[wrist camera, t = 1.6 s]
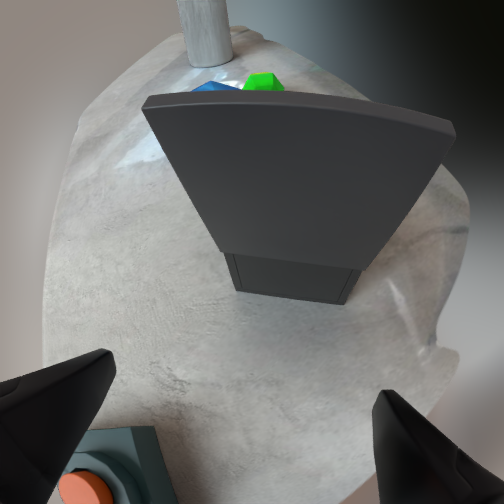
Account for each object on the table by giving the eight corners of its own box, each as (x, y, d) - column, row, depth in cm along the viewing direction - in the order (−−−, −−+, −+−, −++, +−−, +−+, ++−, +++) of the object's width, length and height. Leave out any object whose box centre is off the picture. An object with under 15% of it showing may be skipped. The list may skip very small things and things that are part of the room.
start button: (120, 516, 11) (108, 522, 9) (81, 512, 10) (67, 516, 9) (105, 471, 12) (90, 474, 11) (67, 469, 12) (52, 471, 11)
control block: (188, 528, 14) (163, 555, 9) (109, 525, 13) (72, 541, 8) (153, 425, 19) (117, 426, 14) (80, 432, 18) (37, 429, 13)
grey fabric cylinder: (241, 59, 53) (228, -47, 30) (199, 71, 51) (178, -40, 28) (221, 50, 58) (207, -43, 35) (184, 62, 56) (163, -35, 32)
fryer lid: (148, 94, 8) (139, 108, 8) (451, 120, 6) (457, 137, 6) (222, 242, 19) (220, 252, 19) (365, 260, 17) (365, 271, 17)
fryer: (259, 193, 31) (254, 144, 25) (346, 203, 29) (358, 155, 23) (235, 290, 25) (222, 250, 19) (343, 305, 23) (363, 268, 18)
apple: (267, 72, 32) (254, 52, 37) (234, 102, 36) (227, 78, 40) (300, 101, 37) (284, 77, 42) (269, 127, 40) (258, 100, 45)
